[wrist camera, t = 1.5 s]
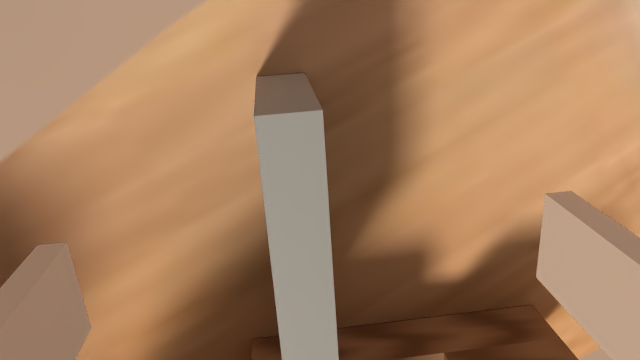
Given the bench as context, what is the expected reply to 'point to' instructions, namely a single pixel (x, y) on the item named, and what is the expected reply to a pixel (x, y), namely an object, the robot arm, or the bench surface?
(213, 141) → the bench surface
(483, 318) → the slotted beam
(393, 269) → the bench surface
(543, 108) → the bench surface
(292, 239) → the notched plate
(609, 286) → the robot arm
